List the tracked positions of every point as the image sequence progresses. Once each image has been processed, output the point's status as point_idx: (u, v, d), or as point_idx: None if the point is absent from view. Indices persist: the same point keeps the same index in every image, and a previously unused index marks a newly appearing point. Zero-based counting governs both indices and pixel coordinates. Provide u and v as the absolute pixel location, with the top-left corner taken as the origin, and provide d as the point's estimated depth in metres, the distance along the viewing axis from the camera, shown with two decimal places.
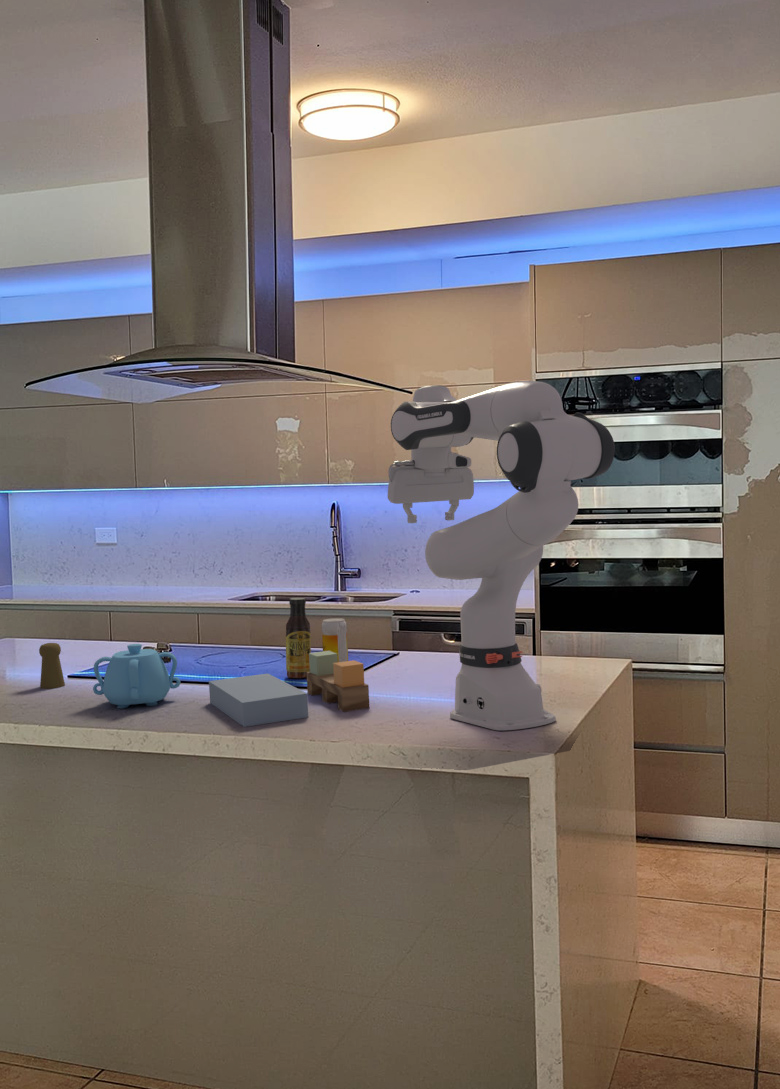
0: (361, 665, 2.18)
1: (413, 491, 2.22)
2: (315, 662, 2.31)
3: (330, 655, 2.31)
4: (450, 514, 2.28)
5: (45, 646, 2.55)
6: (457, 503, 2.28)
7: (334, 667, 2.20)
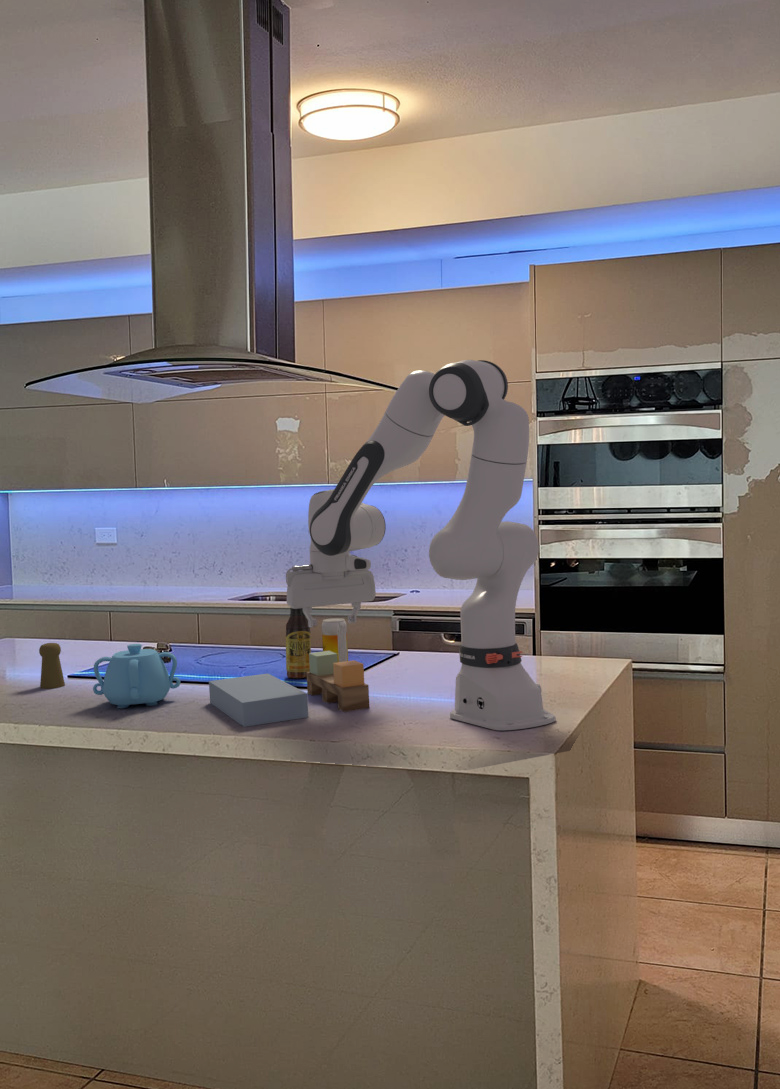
0: (361, 665, 2.18)
1: (311, 596, 2.21)
2: (315, 662, 2.31)
3: (330, 655, 2.31)
4: (352, 617, 2.27)
5: (45, 646, 2.55)
6: (359, 605, 2.27)
7: (334, 667, 2.20)
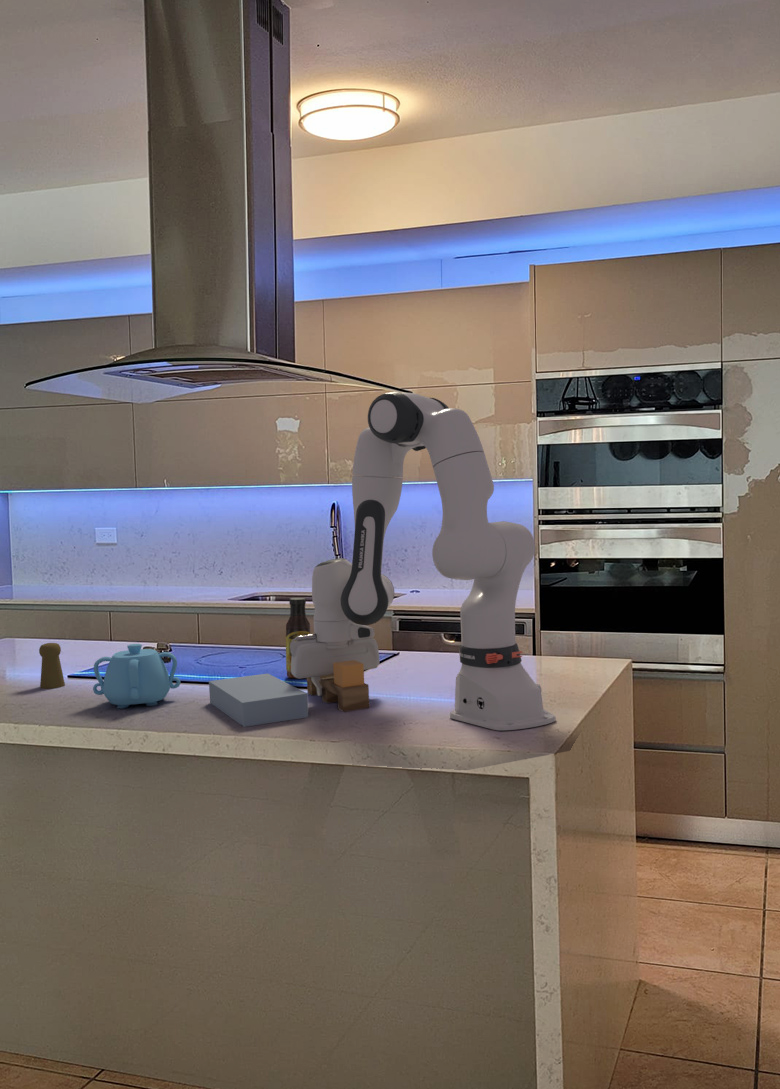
0: (361, 665, 2.18)
1: (315, 665, 2.22)
2: None
3: None
4: None
5: (45, 646, 2.55)
6: None
7: (334, 667, 2.20)
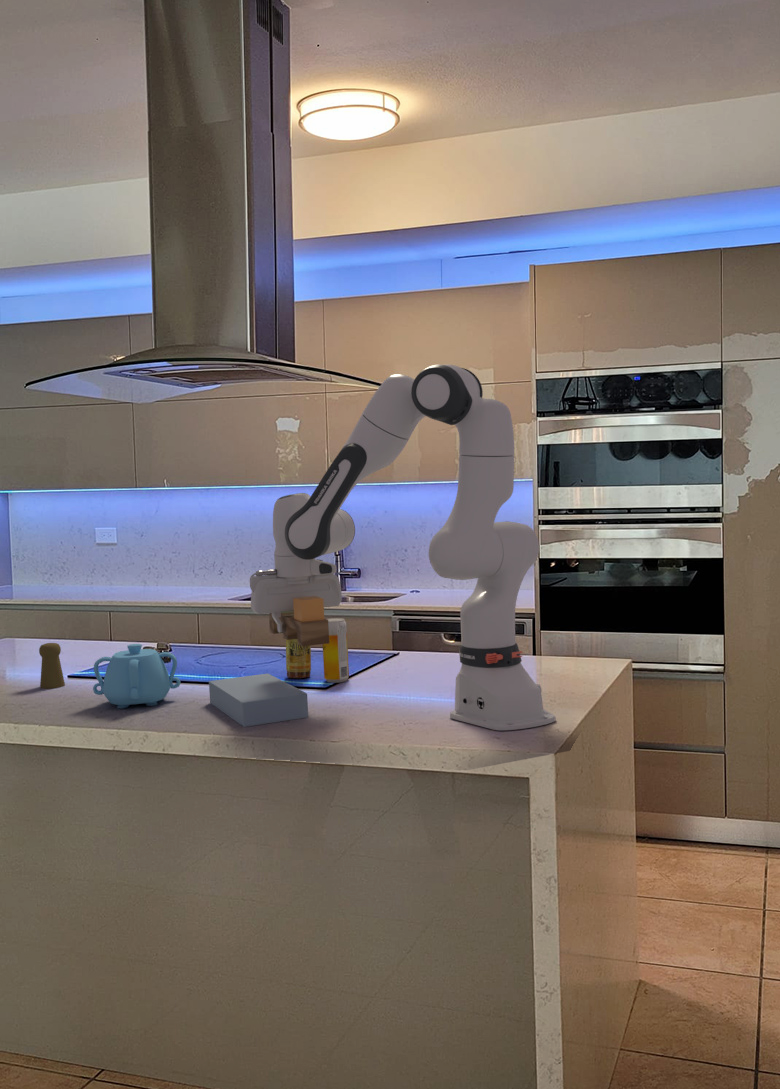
0: (321, 600, 2.15)
1: (275, 601, 2.19)
2: None
3: None
4: None
5: (45, 646, 2.55)
6: None
7: (294, 602, 2.17)
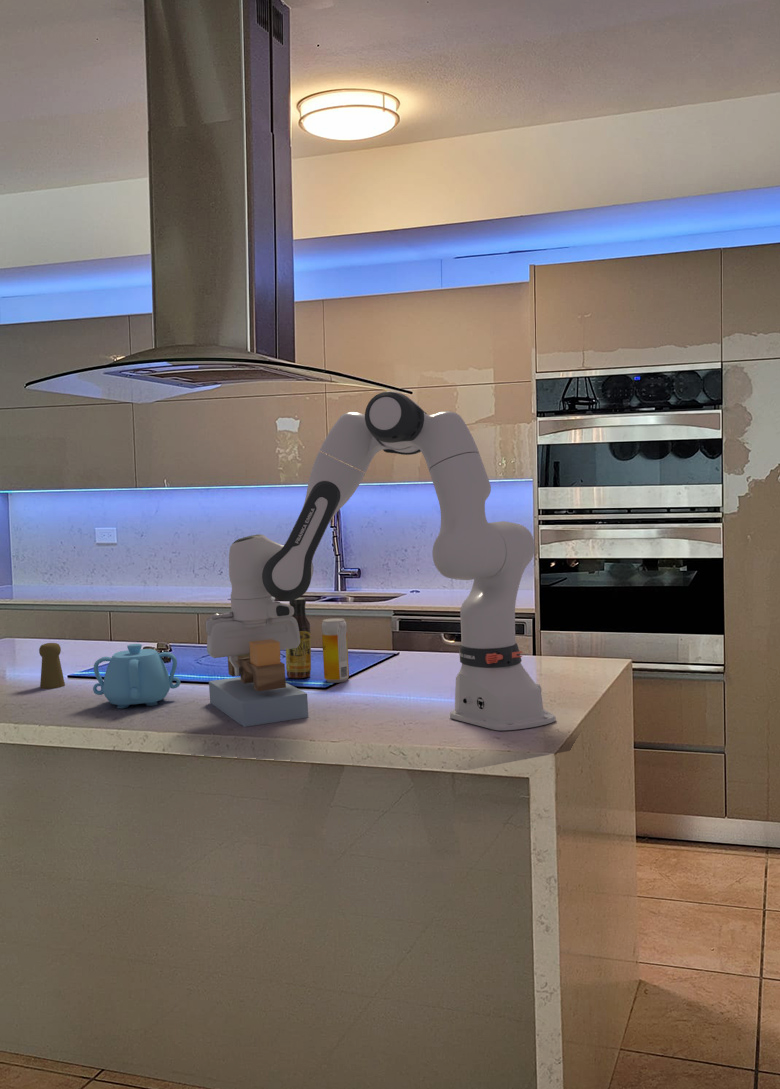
0: (277, 643, 2.12)
1: (232, 644, 2.16)
2: None
3: None
4: None
5: (45, 646, 2.55)
6: None
7: (250, 646, 2.14)
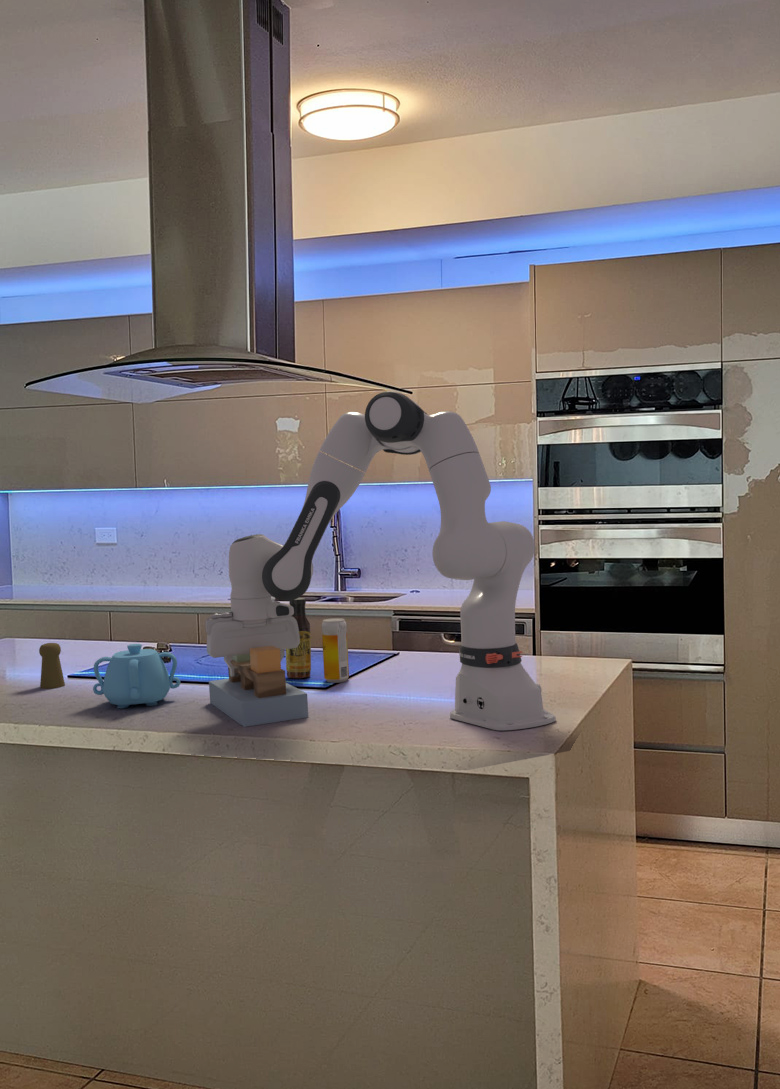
0: (277, 650, 2.12)
1: (231, 644, 2.16)
2: None
3: None
4: None
5: (45, 646, 2.55)
6: (282, 653, 2.22)
7: (250, 653, 2.14)
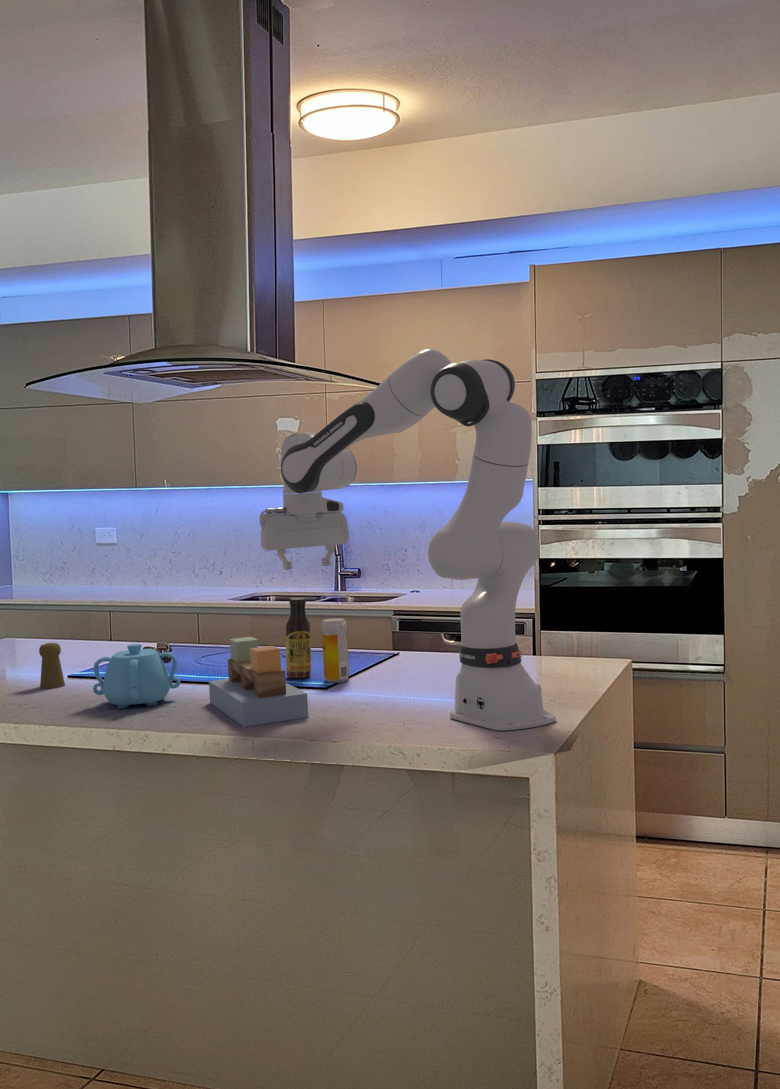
0: (277, 650, 2.12)
1: (285, 537, 2.24)
2: (235, 648, 2.25)
3: (250, 641, 2.25)
4: (326, 559, 2.30)
5: (45, 646, 2.55)
6: (333, 548, 2.30)
7: (250, 653, 2.14)
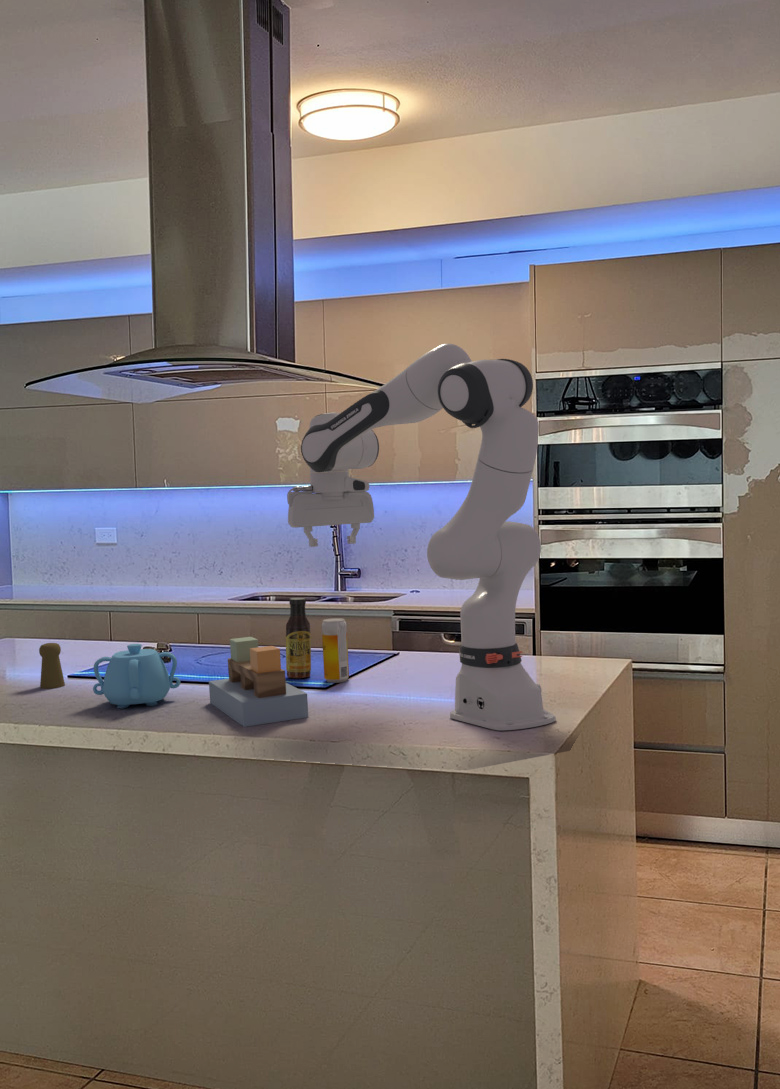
0: (277, 650, 2.12)
1: (312, 515, 2.29)
2: (235, 648, 2.25)
3: (250, 641, 2.25)
4: (351, 537, 2.34)
5: (45, 646, 2.55)
6: (358, 526, 2.35)
7: (250, 653, 2.14)
